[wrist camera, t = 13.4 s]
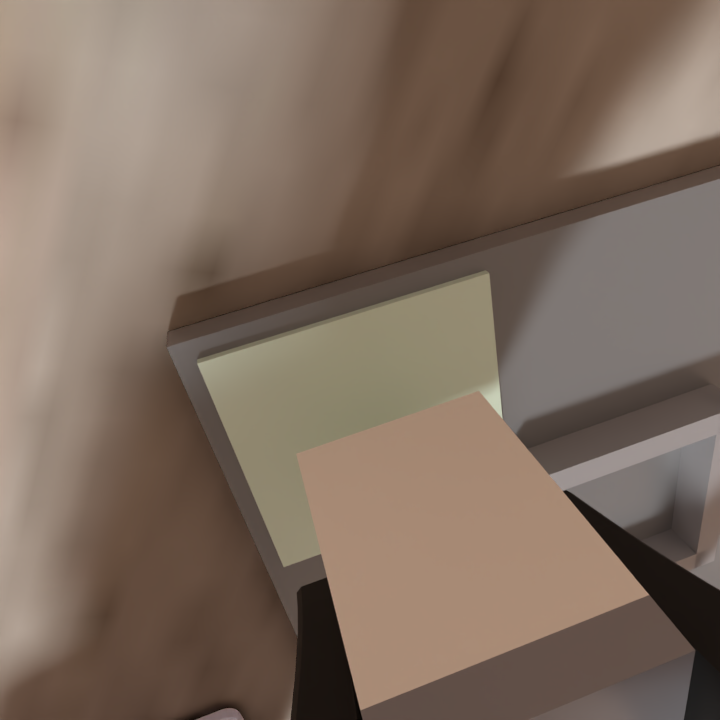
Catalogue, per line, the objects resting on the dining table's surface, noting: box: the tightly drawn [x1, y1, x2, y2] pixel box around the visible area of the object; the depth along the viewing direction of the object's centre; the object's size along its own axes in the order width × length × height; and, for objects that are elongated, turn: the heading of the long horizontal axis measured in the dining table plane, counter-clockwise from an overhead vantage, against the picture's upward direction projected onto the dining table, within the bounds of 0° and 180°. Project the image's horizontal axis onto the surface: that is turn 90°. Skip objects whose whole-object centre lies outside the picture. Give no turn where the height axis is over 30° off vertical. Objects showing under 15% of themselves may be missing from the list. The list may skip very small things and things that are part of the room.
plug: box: [296, 391, 695, 720], centre depth 10 cm, size 4×4×6 cm
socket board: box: [167, 165, 720, 637], centre depth 16 cm, size 18×18×7 cm
